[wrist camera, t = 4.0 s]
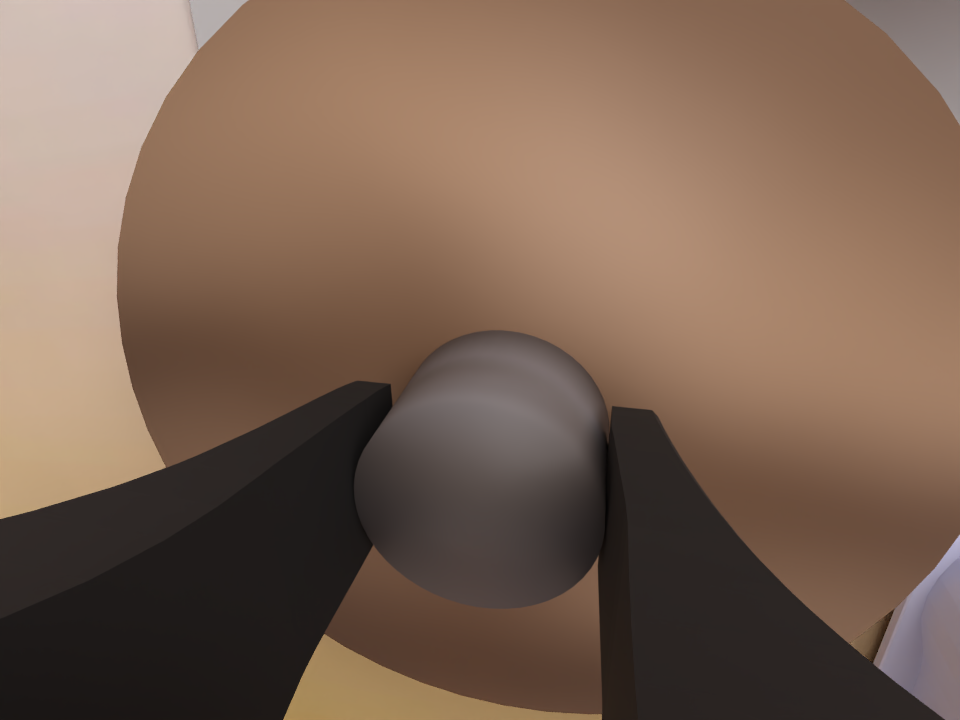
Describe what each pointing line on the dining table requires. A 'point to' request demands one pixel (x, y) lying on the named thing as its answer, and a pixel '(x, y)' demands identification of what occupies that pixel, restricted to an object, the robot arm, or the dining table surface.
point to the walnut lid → (563, 297)
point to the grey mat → (887, 3)
